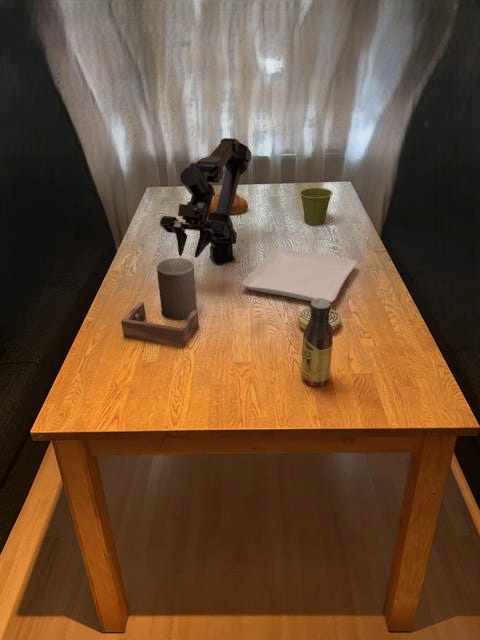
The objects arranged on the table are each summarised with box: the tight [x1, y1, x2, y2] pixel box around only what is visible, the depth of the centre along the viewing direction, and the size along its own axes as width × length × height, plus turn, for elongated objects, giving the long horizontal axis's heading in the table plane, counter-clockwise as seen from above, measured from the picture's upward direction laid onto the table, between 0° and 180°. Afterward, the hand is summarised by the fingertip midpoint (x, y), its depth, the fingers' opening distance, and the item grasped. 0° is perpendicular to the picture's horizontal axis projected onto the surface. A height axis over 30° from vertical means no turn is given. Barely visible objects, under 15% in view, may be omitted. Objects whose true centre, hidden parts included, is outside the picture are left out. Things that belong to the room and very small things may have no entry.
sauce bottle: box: [300, 298, 334, 387], centre depth 111 cm, size 7×6×20 cm
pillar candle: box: [156, 257, 198, 321], centre depth 139 cm, size 10×10×15 cm
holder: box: [120, 301, 200, 349], centre depth 133 cm, size 10×16×5 cm, turn 71°
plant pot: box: [298, 187, 334, 226], centre depth 192 cm, size 12×12×11 cm
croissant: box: [210, 193, 249, 215], centre depth 207 cm, size 14×16×8 cm
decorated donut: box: [297, 306, 342, 332], centre depth 134 cm, size 10×11×4 cm
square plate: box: [241, 248, 359, 304], centre depth 155 cm, size 27×27×4 cm
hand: (187, 256), depth 143 cm, fingers open, 4 cm apart
